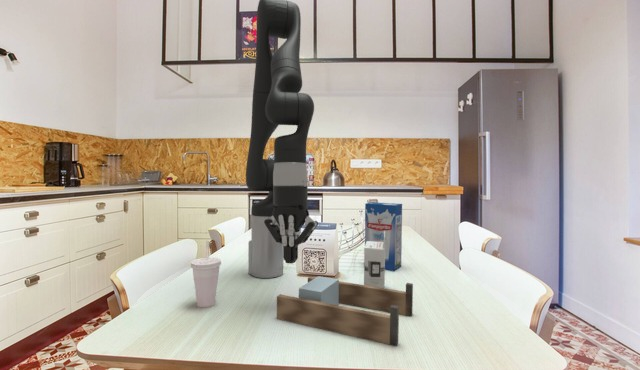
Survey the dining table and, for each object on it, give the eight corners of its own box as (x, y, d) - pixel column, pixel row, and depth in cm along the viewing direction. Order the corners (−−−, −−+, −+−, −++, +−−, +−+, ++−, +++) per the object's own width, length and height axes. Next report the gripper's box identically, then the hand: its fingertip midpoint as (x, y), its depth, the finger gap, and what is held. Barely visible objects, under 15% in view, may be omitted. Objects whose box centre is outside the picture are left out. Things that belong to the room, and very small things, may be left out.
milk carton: (401, 266, 105) (402, 203, 104) (394, 271, 100) (395, 205, 99) (372, 262, 110) (372, 202, 110) (364, 266, 105) (365, 203, 104)
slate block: (298, 317, 67) (298, 288, 67) (318, 302, 75) (318, 276, 75) (320, 322, 65) (321, 292, 65) (338, 306, 73) (338, 279, 73)
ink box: (365, 285, 87) (366, 229, 87) (384, 286, 86) (385, 229, 86) (363, 296, 79) (363, 234, 78) (384, 298, 78) (385, 235, 77)
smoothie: (227, 300, 75) (227, 239, 75) (208, 311, 69) (208, 245, 69) (203, 297, 77) (203, 237, 77) (184, 307, 71) (183, 243, 71)
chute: (276, 318, 66) (276, 286, 66) (309, 295, 79) (310, 268, 79) (396, 346, 56) (397, 308, 56) (412, 314, 69) (412, 283, 69)
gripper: (255, 184, 72) (255, 263, 72) (309, 184, 67) (309, 270, 67) (274, 183, 79) (274, 256, 79) (324, 183, 73) (325, 261, 74)
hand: (290, 262), depth 73 cm, fingers closed
